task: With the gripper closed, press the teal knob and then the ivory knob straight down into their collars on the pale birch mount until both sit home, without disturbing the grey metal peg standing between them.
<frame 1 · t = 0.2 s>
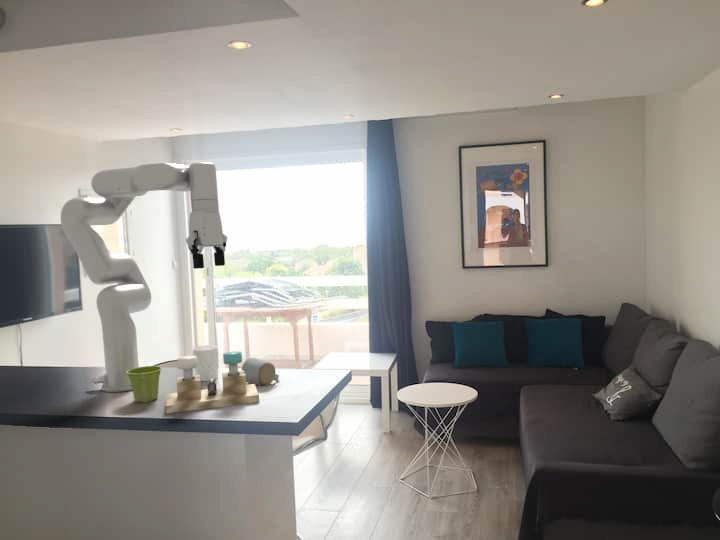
hand: (209, 266, 165), 37 cm above the countertop, tool pointing down, fingers open, 9 cm apart
ceramic mug: (262, 383, 177), on the countertop
white cup: (207, 379, 185), on the countertop
grey metal peg: (212, 394, 159), point 2 cm above the countertop, touching mount
ivory knob: (188, 371, 157), point 9 cm above the countertop, slide at 0.0 cm
mount: (212, 401, 159), on the countertop
plant pot: (146, 400, 164), on the countertop
teal knob: (233, 366, 160), point 9 cm above the countertop, slide at 0.0 cm
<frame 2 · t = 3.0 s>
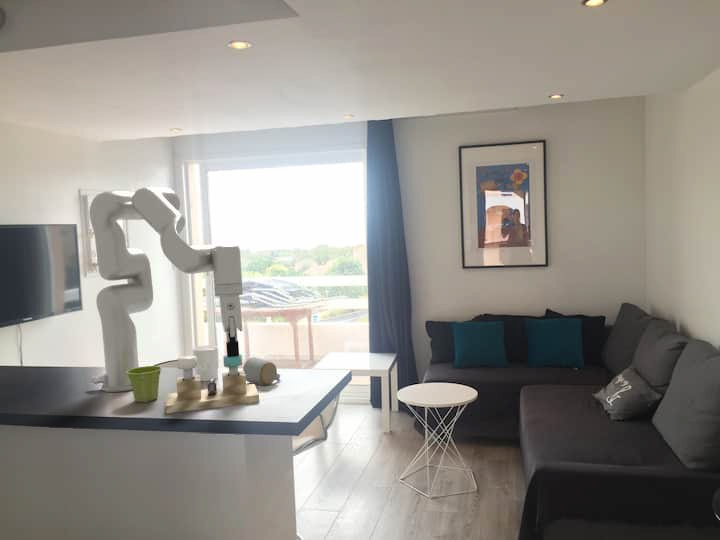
hand: (233, 355, 160), 12 cm above the countertop, tool pointing down, fingers closed
teal knob: (233, 369, 160), point 8 cm above the countertop, slide at 0.8 cm, touching gripper
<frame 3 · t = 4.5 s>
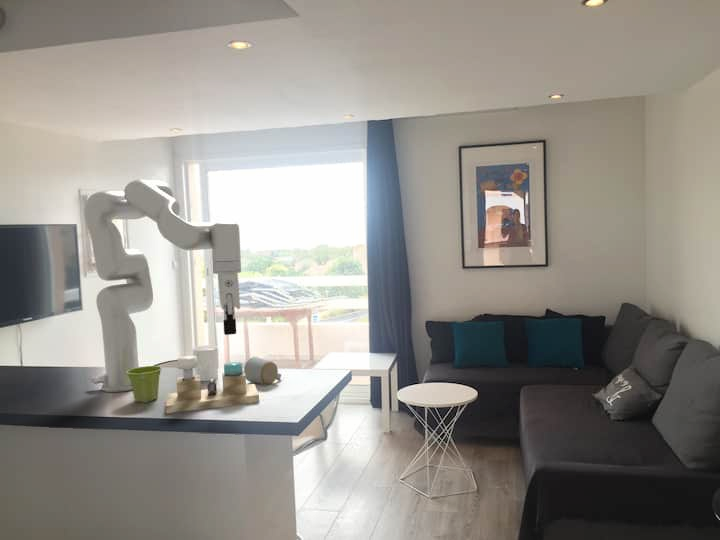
hand: (230, 333, 160), 18 cm above the countertop, tool pointing down, fingers closed
teal knob: (233, 377, 160), point 6 cm above the countertop, slide at 3.0 cm
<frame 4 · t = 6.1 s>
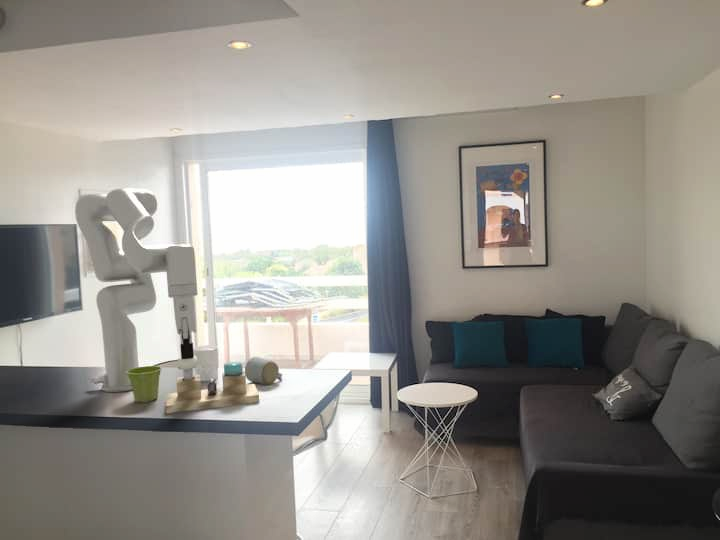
hand: (187, 358, 157), 13 cm above the countertop, tool pointing down, fingers closed
ivory knob: (188, 371, 157), point 9 cm above the countertop, slide at 0.1 cm, touching gripper
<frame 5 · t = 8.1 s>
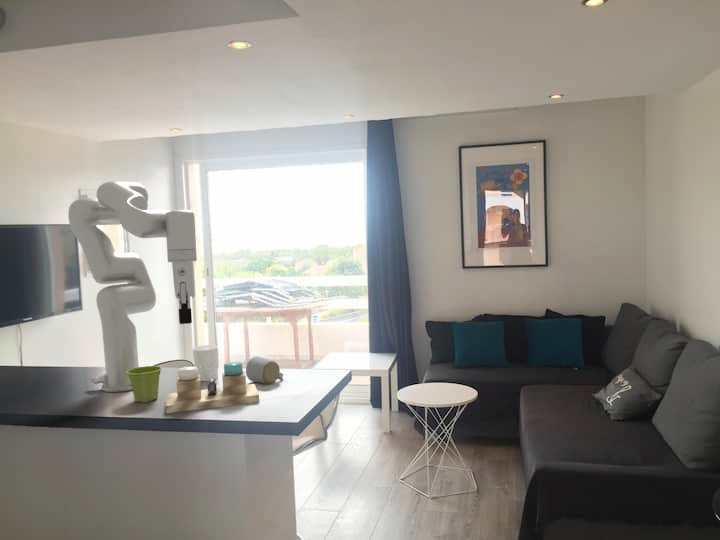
hand: (185, 323, 158), 22 cm above the countertop, tool pointing down, fingers closed
ivory knob: (188, 382, 157), point 6 cm above the countertop, slide at 3.0 cm
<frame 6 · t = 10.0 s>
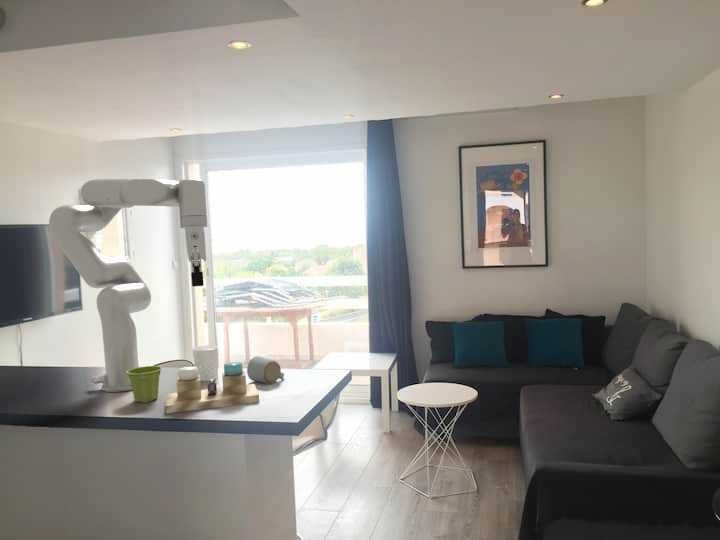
hand: (197, 285, 168), 31 cm above the countertop, tool pointing down, fingers closed
at the end: teal knob slide at 3.0 cm; ivory knob slide at 3.0 cm; grey metal peg moved 0.0 cm from its start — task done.
